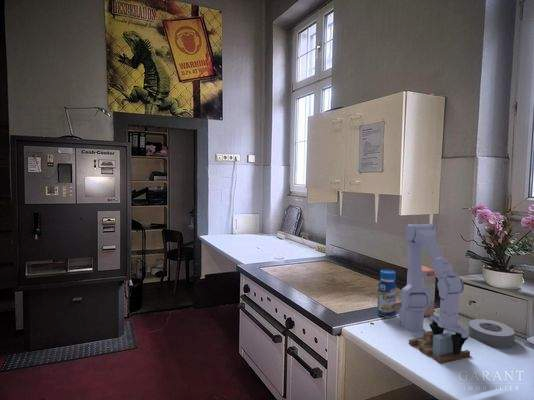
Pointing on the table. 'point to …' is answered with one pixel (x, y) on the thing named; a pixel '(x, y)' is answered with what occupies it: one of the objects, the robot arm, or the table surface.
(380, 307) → the beverage bottle
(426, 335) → the offcut short
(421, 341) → the block
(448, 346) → the blue-grey rectangular block
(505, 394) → the table surface
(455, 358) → the rack
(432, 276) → the cracker box
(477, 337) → the tape roll
